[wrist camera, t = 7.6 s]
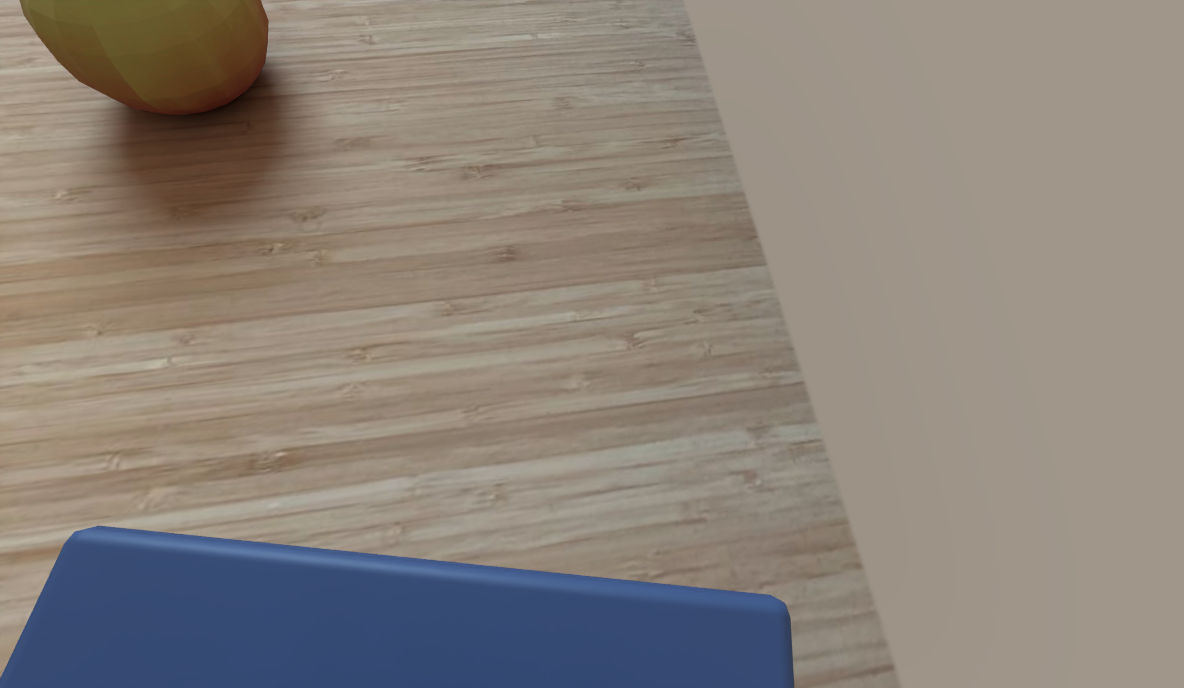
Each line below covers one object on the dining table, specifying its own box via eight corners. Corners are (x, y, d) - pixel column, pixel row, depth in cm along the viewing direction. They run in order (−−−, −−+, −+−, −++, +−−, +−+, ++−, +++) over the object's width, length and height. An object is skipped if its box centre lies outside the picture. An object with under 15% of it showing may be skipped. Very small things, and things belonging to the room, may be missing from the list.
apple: (312, 27, 33) (242, -134, 26) (267, 150, 29) (168, -1, 22) (143, 16, 33) (24, -150, 25) (74, 140, 28) (-93, -18, 21)
